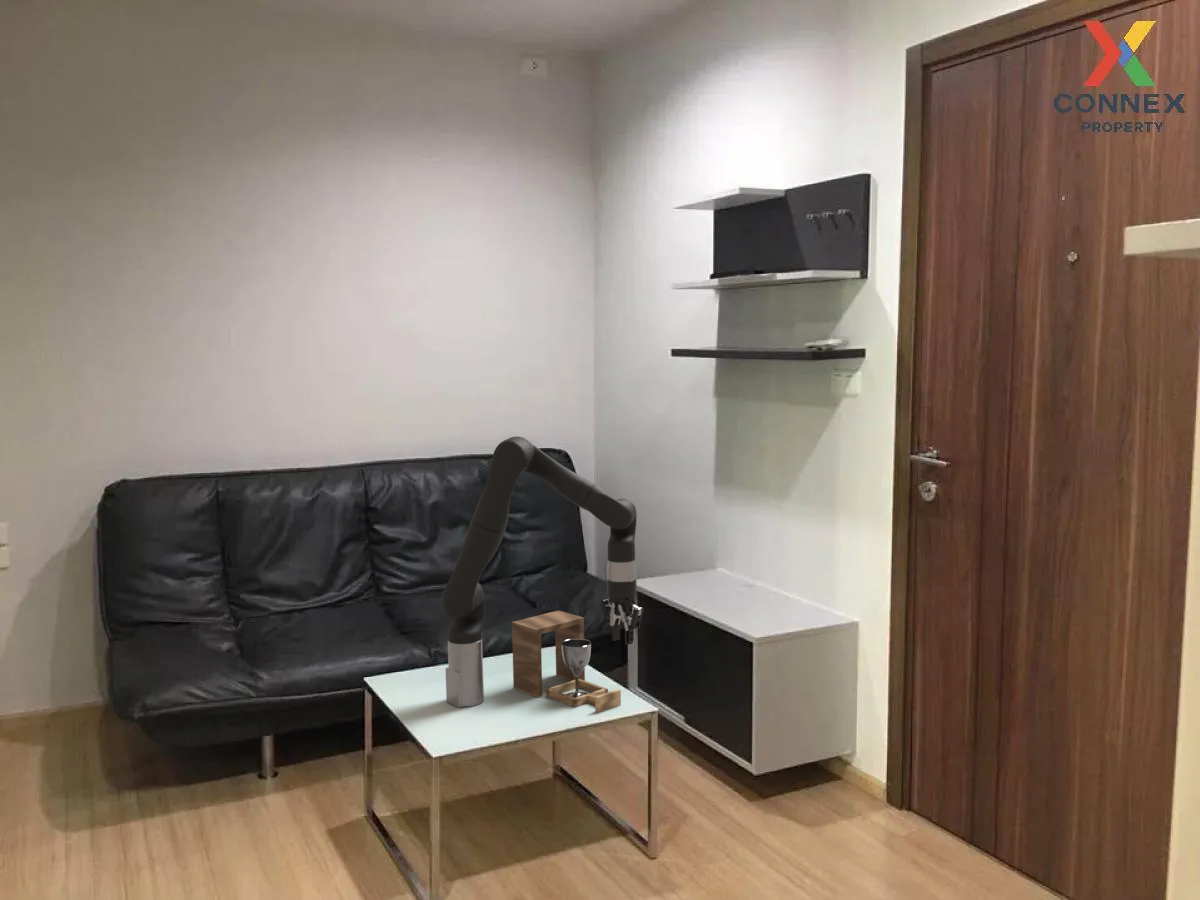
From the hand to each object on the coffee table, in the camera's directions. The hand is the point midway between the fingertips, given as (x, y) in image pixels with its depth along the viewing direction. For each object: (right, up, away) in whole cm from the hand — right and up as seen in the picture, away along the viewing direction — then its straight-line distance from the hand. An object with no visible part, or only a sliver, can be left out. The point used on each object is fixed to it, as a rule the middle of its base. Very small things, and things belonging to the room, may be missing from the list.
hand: (622, 641), depth 264 cm
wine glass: (-12, -18, +16) cm, 27 cm away
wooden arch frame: (-20, -17, +25) cm, 36 cm away
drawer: (-10, -18, +13) cm, 24 cm away
